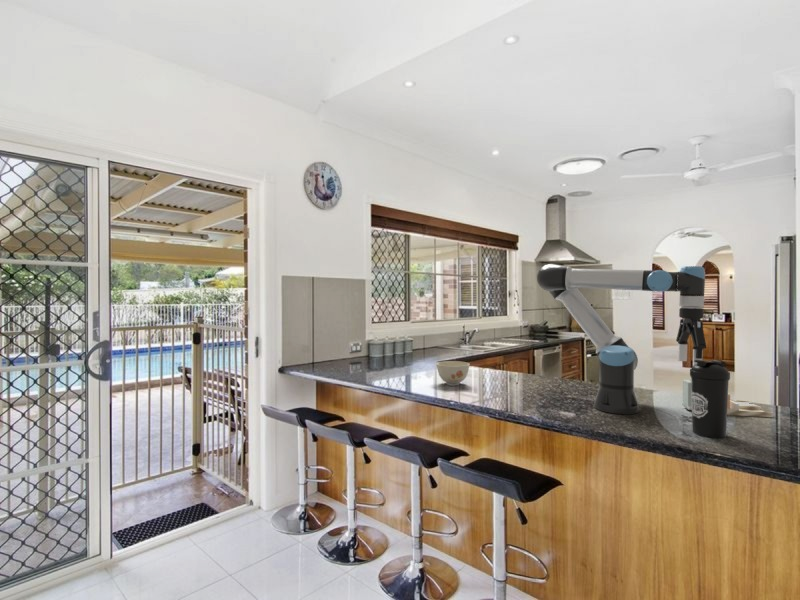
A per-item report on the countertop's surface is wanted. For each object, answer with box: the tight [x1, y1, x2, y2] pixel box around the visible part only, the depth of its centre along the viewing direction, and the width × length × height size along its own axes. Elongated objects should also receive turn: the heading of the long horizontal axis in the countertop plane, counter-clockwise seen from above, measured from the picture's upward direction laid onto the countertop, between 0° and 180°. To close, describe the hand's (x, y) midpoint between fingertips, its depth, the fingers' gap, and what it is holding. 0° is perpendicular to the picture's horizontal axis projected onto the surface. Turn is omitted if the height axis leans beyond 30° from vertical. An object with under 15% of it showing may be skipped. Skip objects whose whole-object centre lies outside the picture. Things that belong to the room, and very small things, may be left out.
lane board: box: [727, 399, 775, 418], centre depth 160 cm, size 21×16×2 cm
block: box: [727, 393, 731, 409], centre depth 157 cm, size 5×5×5 cm
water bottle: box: [689, 359, 731, 439], centre depth 133 cm, size 10×10×23 cm
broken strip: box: [735, 402, 758, 406], centre depth 163 cm, size 16×6×1 cm, turn 76°
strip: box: [681, 379, 739, 411], centre depth 158 cm, size 16×6×10 cm, turn 76°
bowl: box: [436, 360, 470, 387], centre depth 206 cm, size 16×16×10 cm
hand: (689, 364), depth 160 cm, fingers open, 13 cm apart
